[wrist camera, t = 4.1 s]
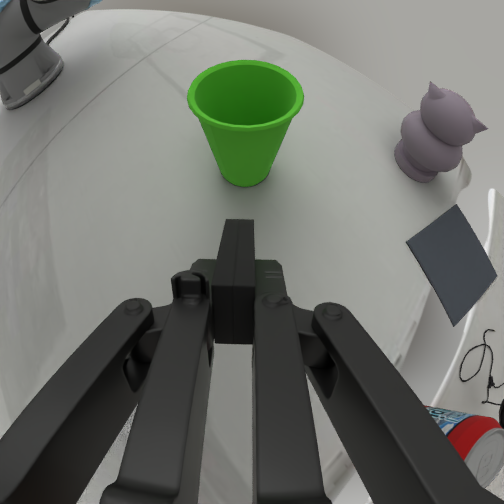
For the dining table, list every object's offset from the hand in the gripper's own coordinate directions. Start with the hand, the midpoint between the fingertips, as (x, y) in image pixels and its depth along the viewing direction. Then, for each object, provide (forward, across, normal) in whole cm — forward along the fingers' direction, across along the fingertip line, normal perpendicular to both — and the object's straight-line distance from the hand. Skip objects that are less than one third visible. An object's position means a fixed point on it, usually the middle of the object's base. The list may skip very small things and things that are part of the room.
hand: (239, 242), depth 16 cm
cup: (+16, 0, +1) cm, 16 cm away
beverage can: (-4, +17, -19) cm, 26 cm away
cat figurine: (+19, +22, +4) cm, 29 cm away
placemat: (+9, +25, -6) cm, 27 cm away
